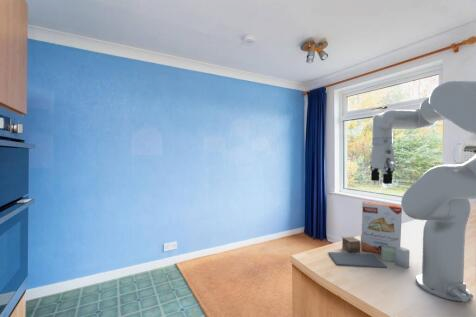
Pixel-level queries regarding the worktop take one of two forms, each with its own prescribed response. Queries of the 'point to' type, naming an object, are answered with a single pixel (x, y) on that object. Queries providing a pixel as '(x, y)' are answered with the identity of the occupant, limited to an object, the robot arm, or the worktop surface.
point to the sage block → (388, 253)
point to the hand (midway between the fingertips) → (381, 182)
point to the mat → (356, 259)
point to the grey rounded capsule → (402, 257)
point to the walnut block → (351, 244)
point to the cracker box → (380, 226)
